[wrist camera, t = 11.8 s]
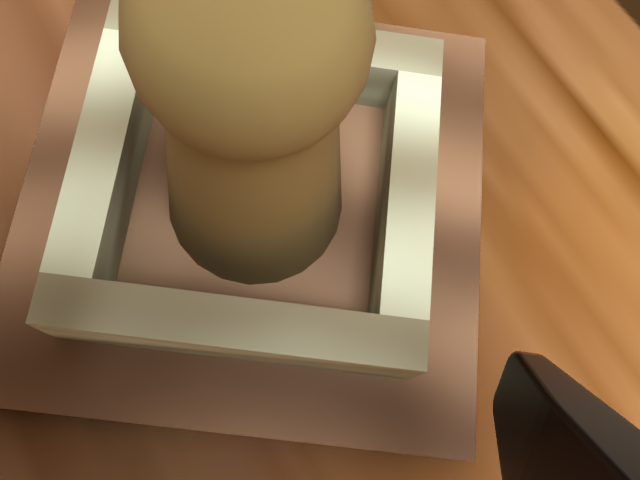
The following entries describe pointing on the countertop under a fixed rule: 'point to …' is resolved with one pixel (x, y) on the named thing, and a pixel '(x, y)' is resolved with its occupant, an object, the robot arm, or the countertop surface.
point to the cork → (250, 121)
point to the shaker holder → (258, 299)
